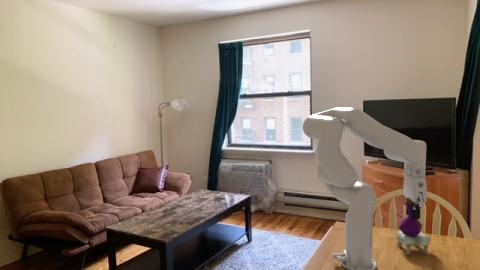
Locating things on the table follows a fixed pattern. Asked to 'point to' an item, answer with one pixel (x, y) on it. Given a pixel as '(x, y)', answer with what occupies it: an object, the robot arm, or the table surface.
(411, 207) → the perfume bottle
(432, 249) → the table surface
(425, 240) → the stool
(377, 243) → the table surface
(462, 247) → the table surface
